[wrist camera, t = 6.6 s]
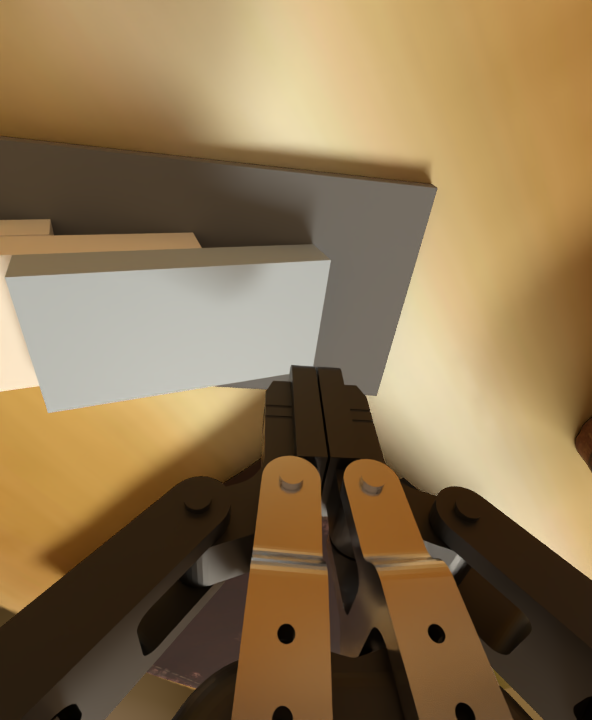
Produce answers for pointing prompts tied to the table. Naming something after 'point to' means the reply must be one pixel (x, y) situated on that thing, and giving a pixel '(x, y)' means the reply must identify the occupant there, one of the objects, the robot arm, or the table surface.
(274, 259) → the domino
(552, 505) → the table surface
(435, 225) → the table surface
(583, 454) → the cup
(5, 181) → the mat
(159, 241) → the domino
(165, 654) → the diary
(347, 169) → the table surface
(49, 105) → the table surface
